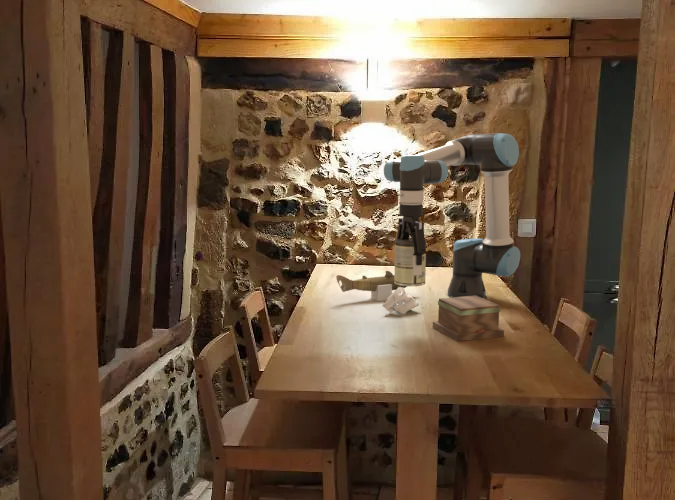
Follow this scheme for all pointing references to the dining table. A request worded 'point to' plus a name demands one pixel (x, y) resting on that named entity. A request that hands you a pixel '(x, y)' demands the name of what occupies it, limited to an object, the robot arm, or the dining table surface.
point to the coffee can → (407, 264)
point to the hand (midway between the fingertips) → (409, 271)
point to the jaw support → (400, 301)
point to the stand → (468, 318)
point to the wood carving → (371, 285)
